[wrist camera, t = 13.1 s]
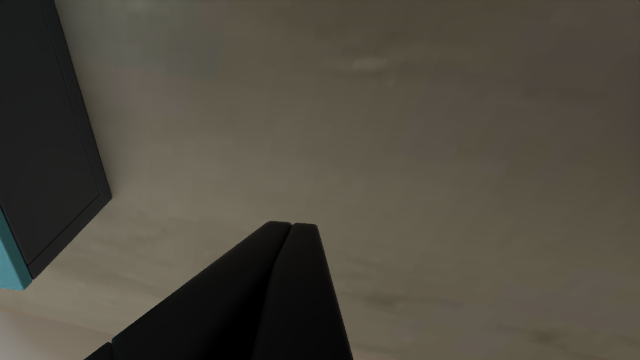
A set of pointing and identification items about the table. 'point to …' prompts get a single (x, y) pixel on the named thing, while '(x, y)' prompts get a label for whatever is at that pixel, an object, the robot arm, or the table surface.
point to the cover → (11, 261)
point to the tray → (43, 137)
